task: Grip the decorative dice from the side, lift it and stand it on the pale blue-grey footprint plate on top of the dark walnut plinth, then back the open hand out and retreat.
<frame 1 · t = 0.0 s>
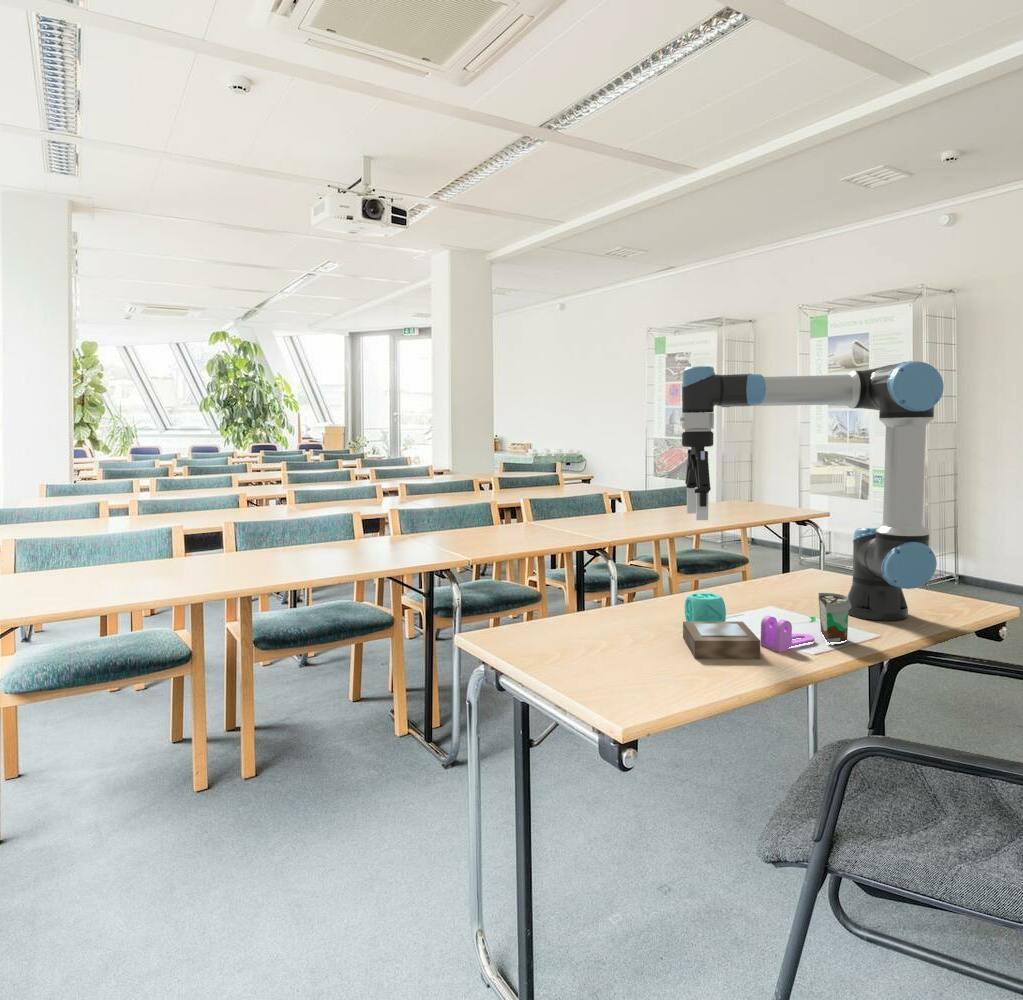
hand: (697, 516, 188), 28 cm above the table, tool pointing down, fingers open, 13 cm apart
food container: (838, 640, 177), on the table
decorative dice: (704, 627, 190), on the table
plinth: (719, 647, 173), on the table
bracket: (790, 645, 175), on the table
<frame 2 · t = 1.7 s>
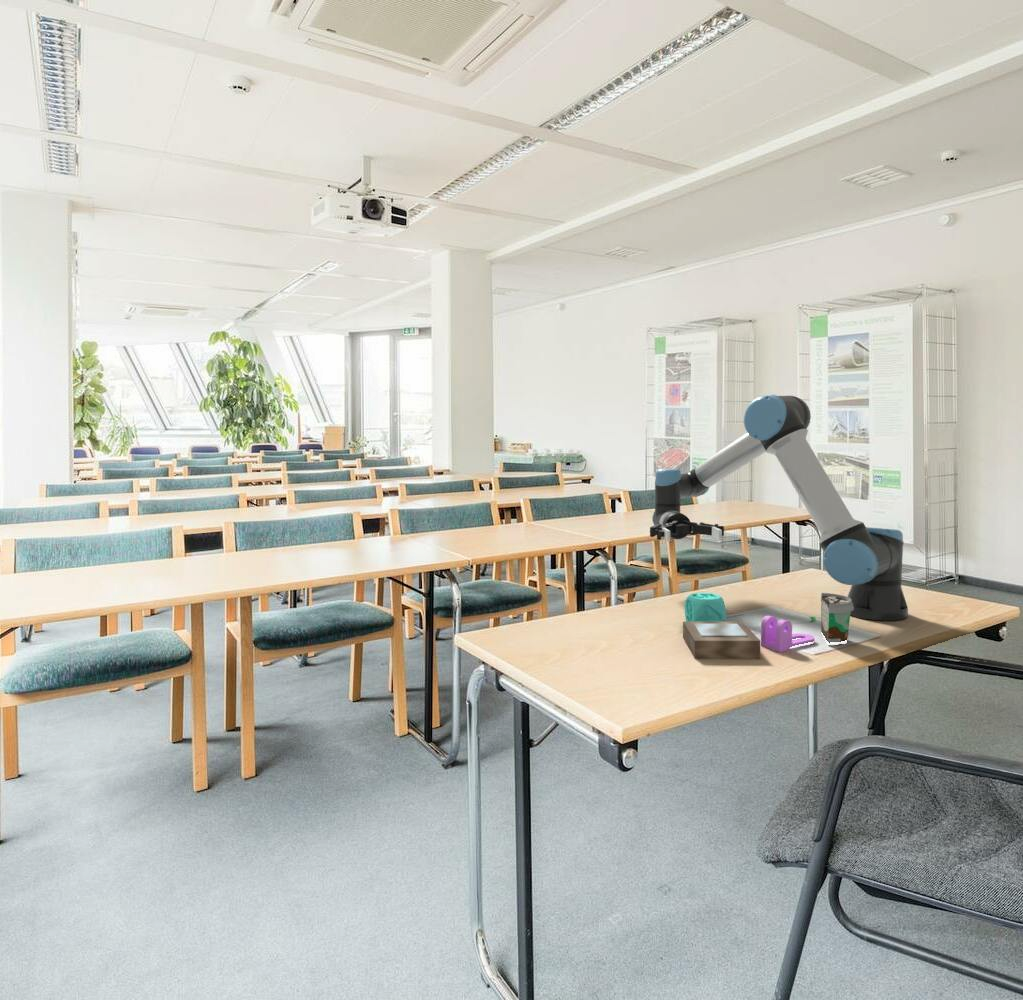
hand: (694, 535, 198), 22 cm above the table, tool horizontal, fingers open, 13 cm apart
nothing on the table moved.
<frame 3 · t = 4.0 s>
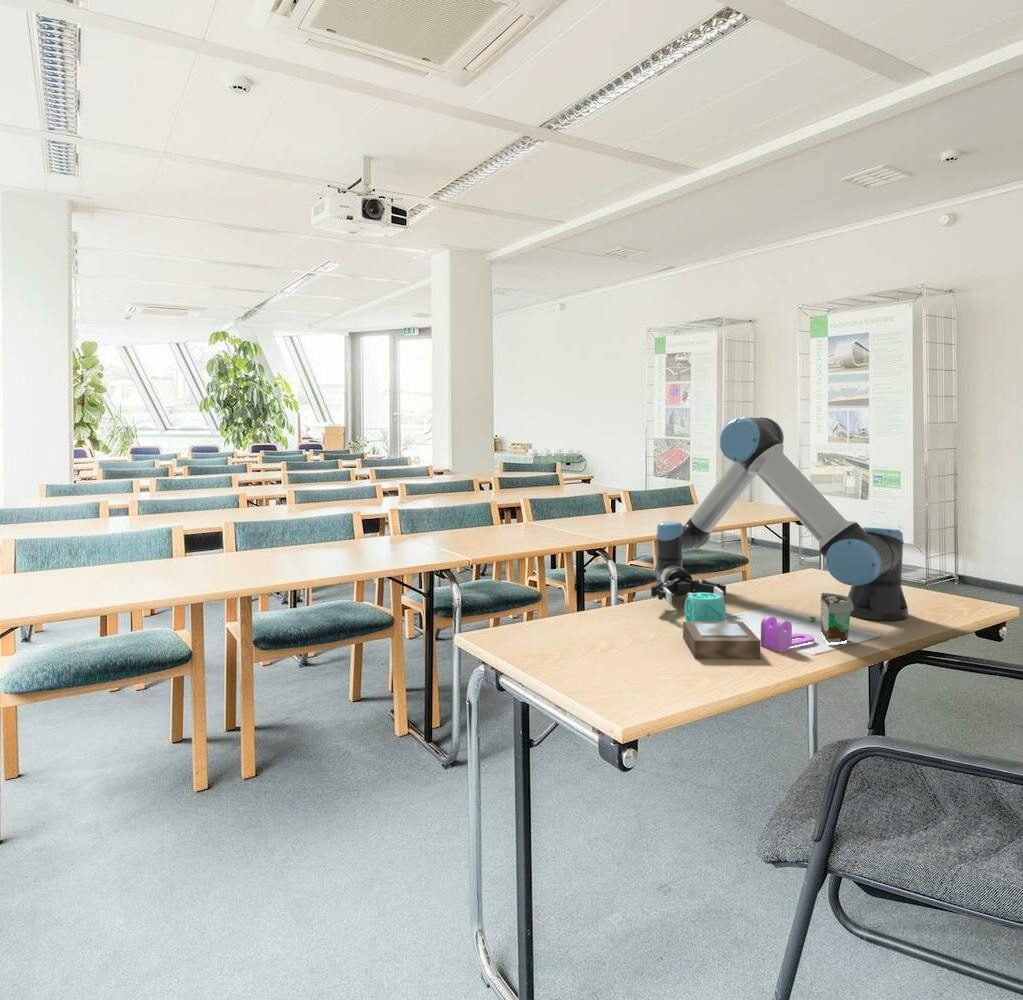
hand: (696, 597, 197), 6 cm above the table, tool horizontal, fingers open, 13 cm apart
nothing on the table moved.
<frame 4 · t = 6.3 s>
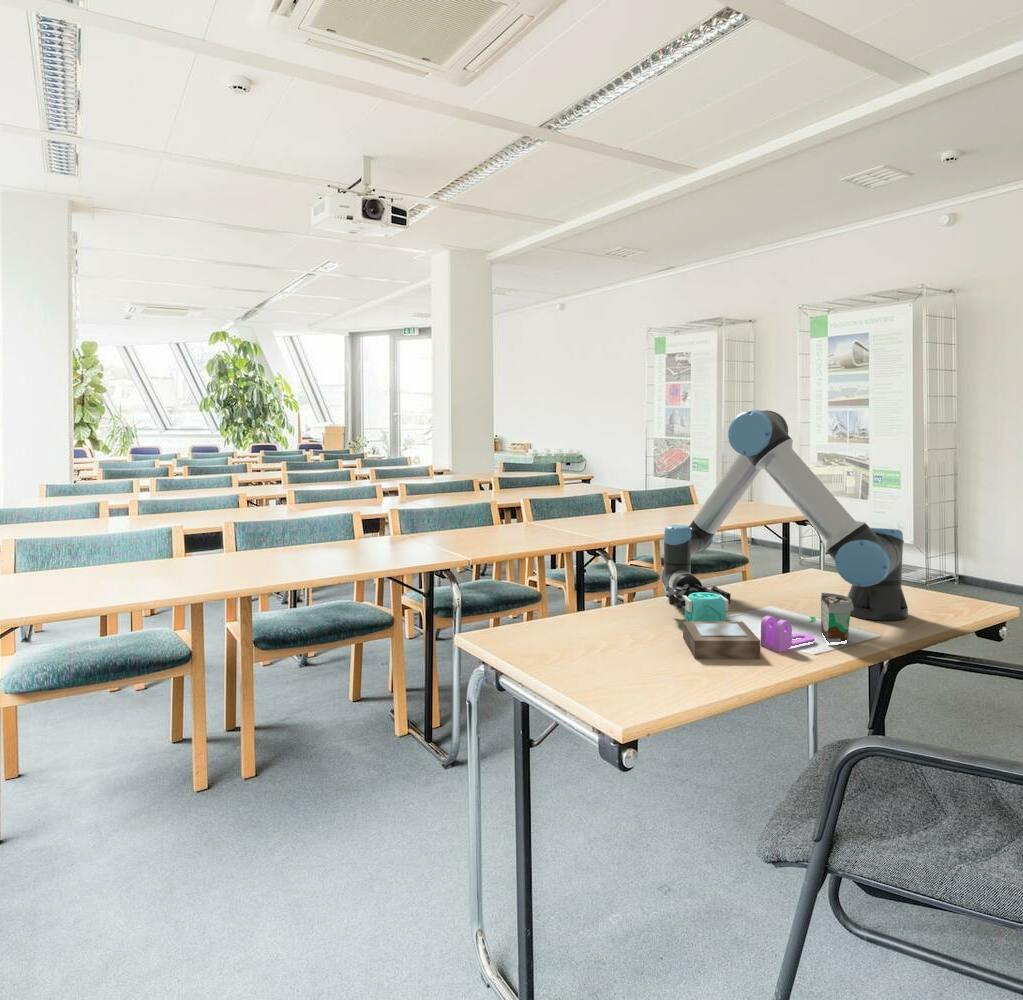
hand: (708, 606, 187), 6 cm above the table, tool horizontal, fingers closed on decorative dice, 8 cm apart
decorative dice: (704, 627, 190), on the table, touching gripper
everything else where it was.
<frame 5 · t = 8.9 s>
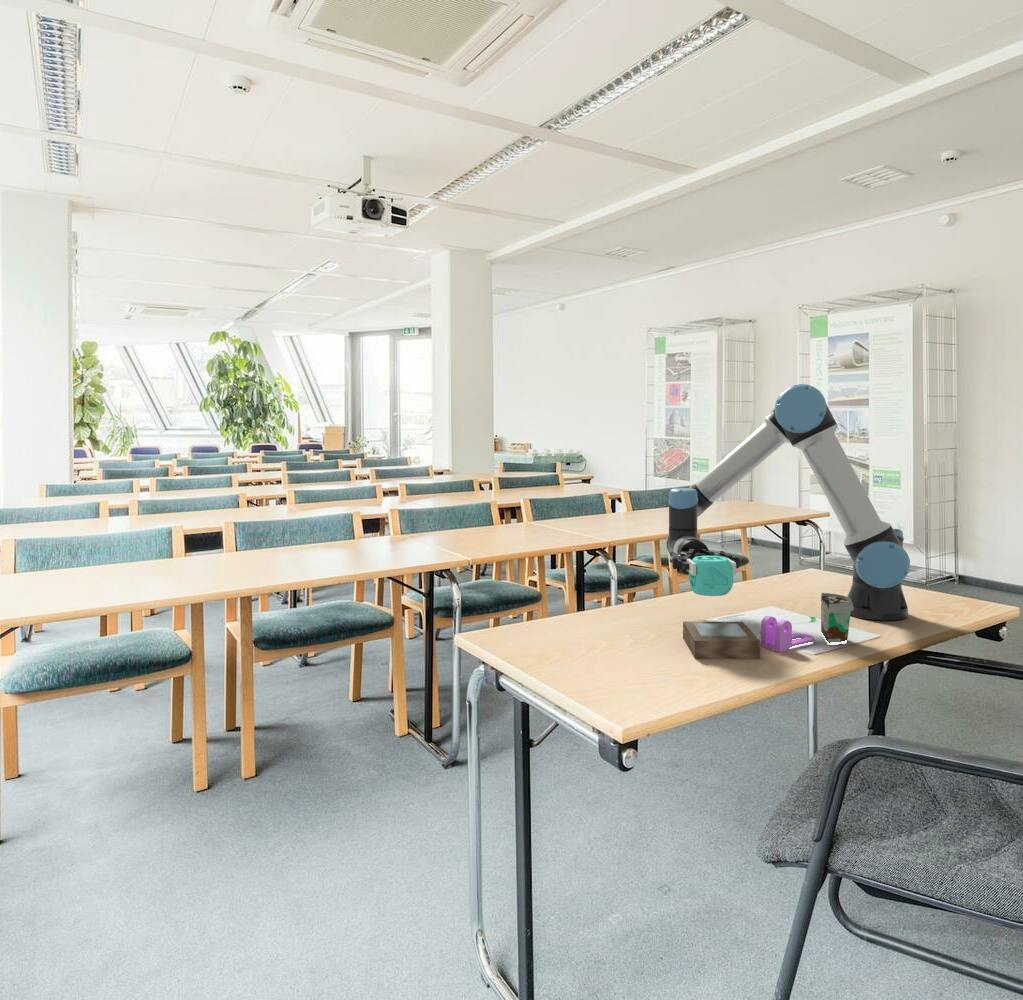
hand: (714, 569, 172), 18 cm above the table, tool horizontal, fingers closed on decorative dice, 8 cm apart
decorative dice: (710, 593, 176), point 12 cm above the table, touching gripper
everything else where it was.
when the fingers open (12 cm above the table, at t = 11.5 s): decorative dice drops 1 cm, resting on plinth.
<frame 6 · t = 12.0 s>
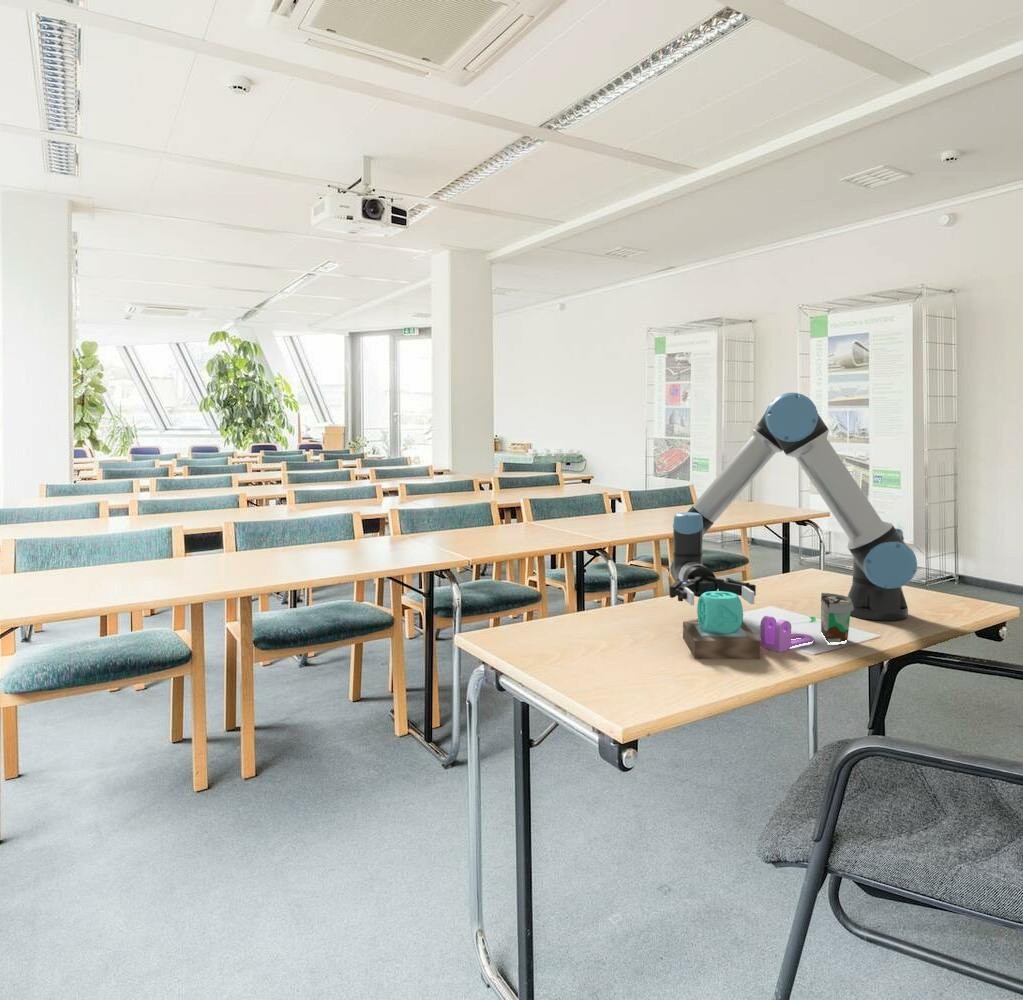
hand: (722, 598, 170), 12 cm above the table, tool horizontal, fingers open, 13 cm apart
decorative dice: (719, 630, 172), point 4 cm above the table, touching plinth
everything else where it was.
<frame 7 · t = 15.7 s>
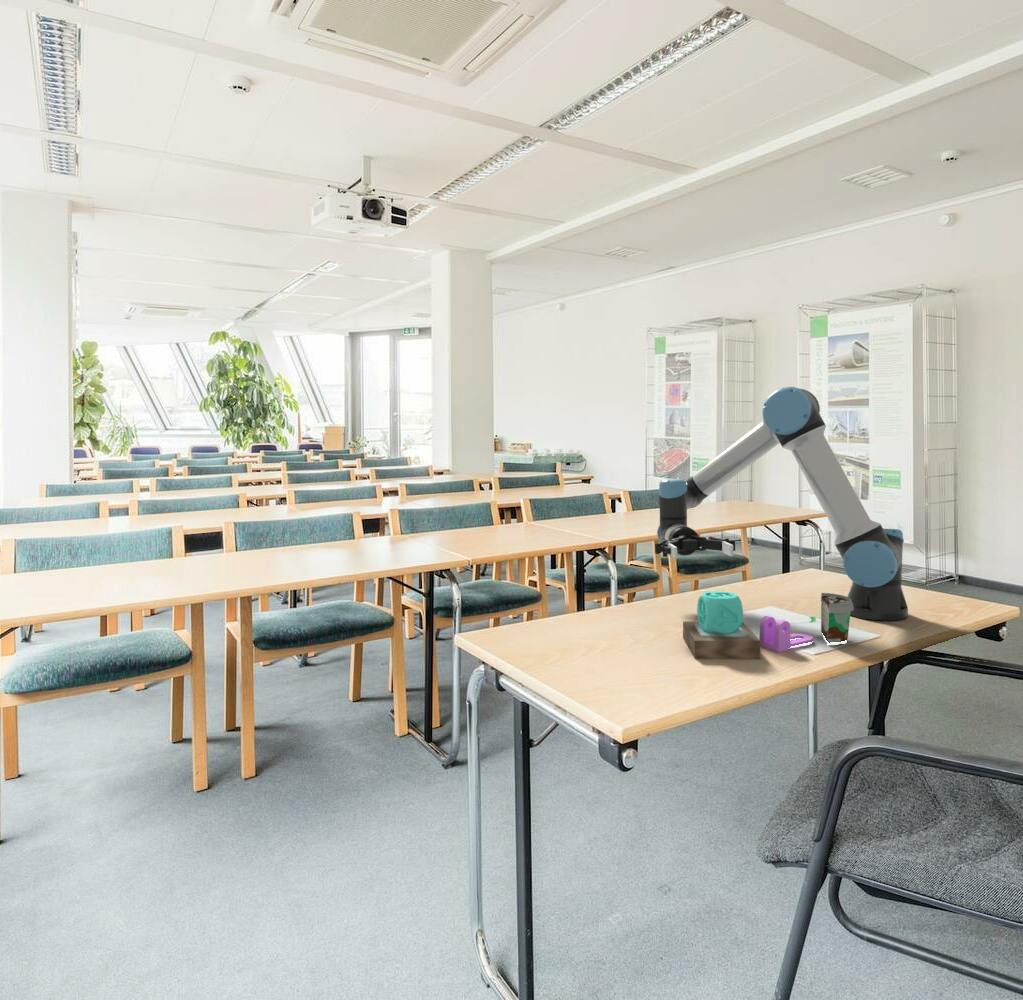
hand: (703, 551, 182), 20 cm above the table, tool horizontal, fingers open, 13 cm apart
nothing on the table moved.
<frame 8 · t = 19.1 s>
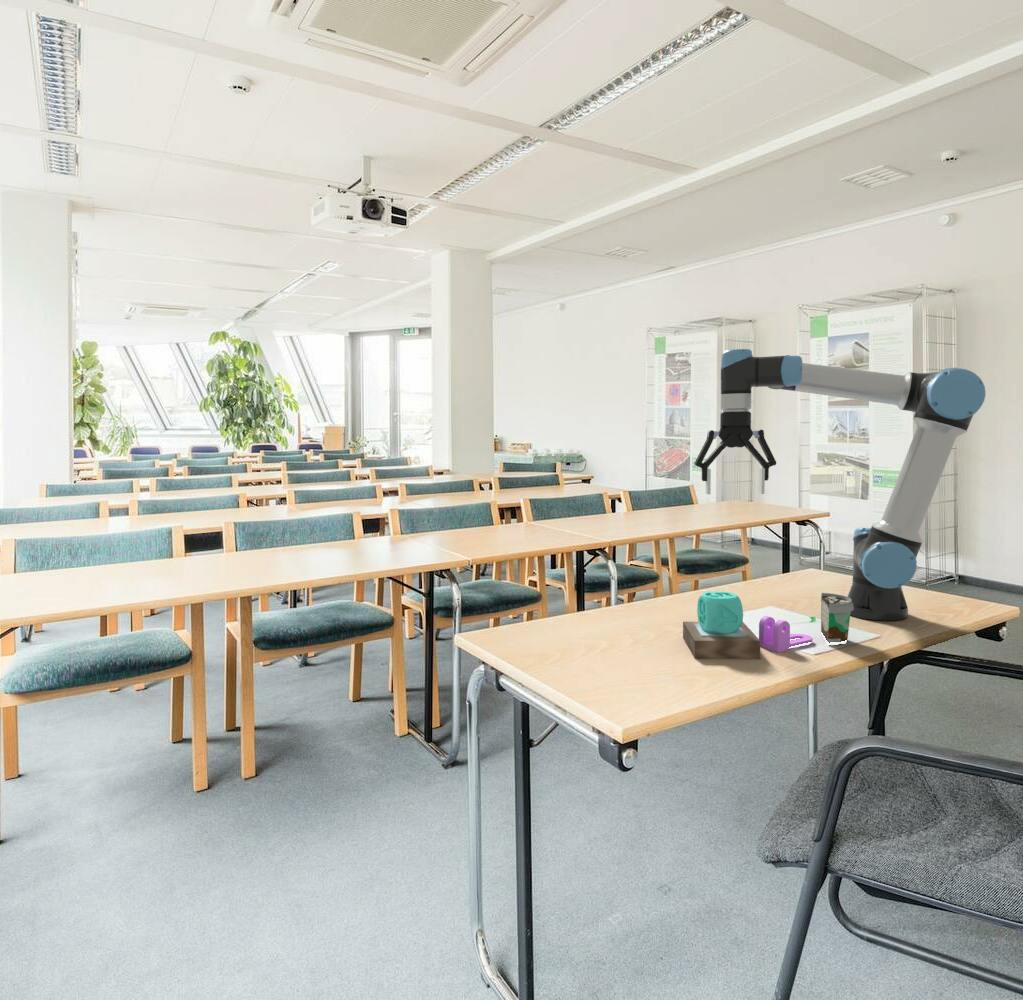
hand: (734, 493, 196), 33 cm above the table, tool pointing down, fingers open, 13 cm apart
nothing on the table moved.
at the end: decorative dice 0.1 cm off-centre on the plinth, point 4.1 cm above the plinth's base; decorative dice tilted 0°; the gripper is holding nothing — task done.
